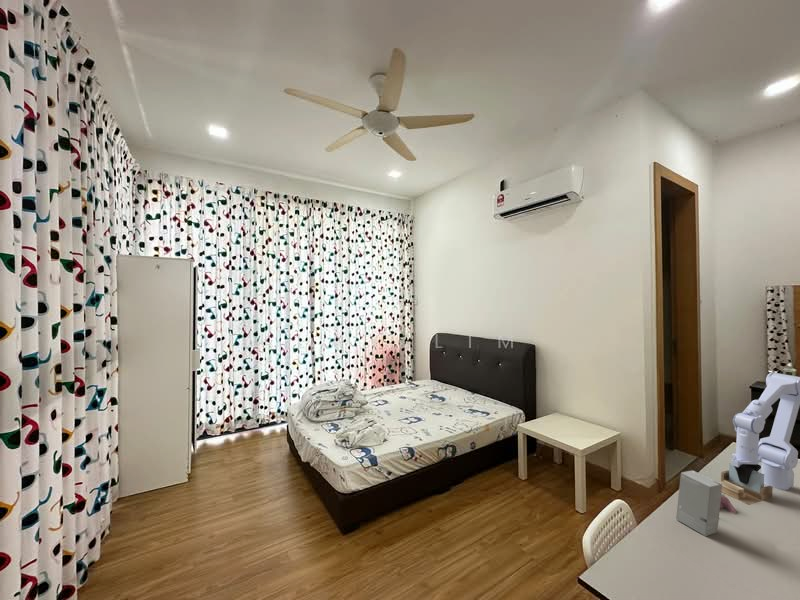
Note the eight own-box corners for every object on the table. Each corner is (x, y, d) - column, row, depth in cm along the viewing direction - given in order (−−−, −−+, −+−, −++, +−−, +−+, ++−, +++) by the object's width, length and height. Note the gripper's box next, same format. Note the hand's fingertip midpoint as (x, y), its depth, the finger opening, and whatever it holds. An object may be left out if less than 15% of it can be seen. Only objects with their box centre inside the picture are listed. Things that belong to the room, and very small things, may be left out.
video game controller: (728, 515, 113) (721, 491, 116) (739, 517, 109) (731, 492, 112) (697, 512, 114) (690, 489, 117) (707, 514, 110) (700, 490, 113)
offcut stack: (724, 487, 125) (724, 480, 124) (745, 497, 119) (745, 489, 119) (717, 489, 123) (717, 481, 123) (738, 499, 118) (738, 491, 118)
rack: (730, 482, 130) (730, 469, 130) (772, 501, 119) (772, 486, 119) (707, 488, 126) (707, 475, 126) (748, 508, 115) (748, 493, 115)
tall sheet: (732, 482, 128) (732, 462, 128) (763, 496, 120) (764, 474, 120) (728, 483, 128) (729, 463, 128) (760, 497, 119) (760, 475, 119)
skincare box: (675, 520, 108) (677, 472, 107) (689, 515, 110) (691, 468, 110) (707, 538, 100) (708, 486, 99) (721, 532, 102) (723, 482, 102)
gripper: (745, 439, 130) (744, 473, 130) (721, 444, 125) (720, 479, 125) (770, 447, 123) (768, 483, 123) (745, 452, 118) (744, 490, 119)
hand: (745, 482), depth 124 cm, fingers closed on tall sheet, 2 cm apart
